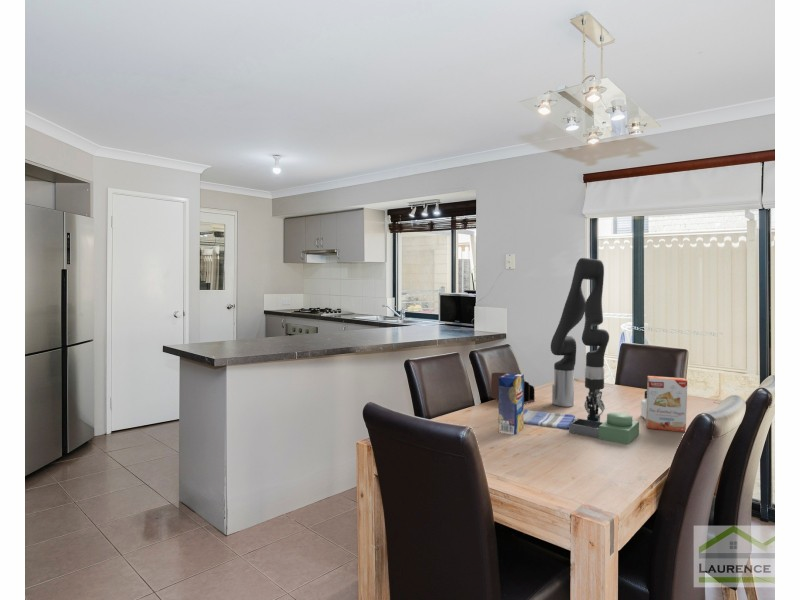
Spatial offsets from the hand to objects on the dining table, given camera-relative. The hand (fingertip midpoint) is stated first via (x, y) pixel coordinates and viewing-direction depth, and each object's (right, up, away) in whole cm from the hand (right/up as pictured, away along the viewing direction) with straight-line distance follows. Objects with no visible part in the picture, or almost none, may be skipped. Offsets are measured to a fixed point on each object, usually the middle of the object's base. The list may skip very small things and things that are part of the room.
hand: (593, 417), depth 213 cm
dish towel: (-19, -3, +5) cm, 20 cm away
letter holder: (-25, -2, +43) cm, 50 cm away
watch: (0, -3, 0) cm, 3 cm away
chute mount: (-6, -3, -12) cm, 14 cm away
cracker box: (+27, -3, -7) cm, 28 cm away
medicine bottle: (+29, -3, +9) cm, 30 cm away
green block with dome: (+4, -3, -17) cm, 17 cm away
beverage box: (-37, -3, -8) cm, 38 cm away
